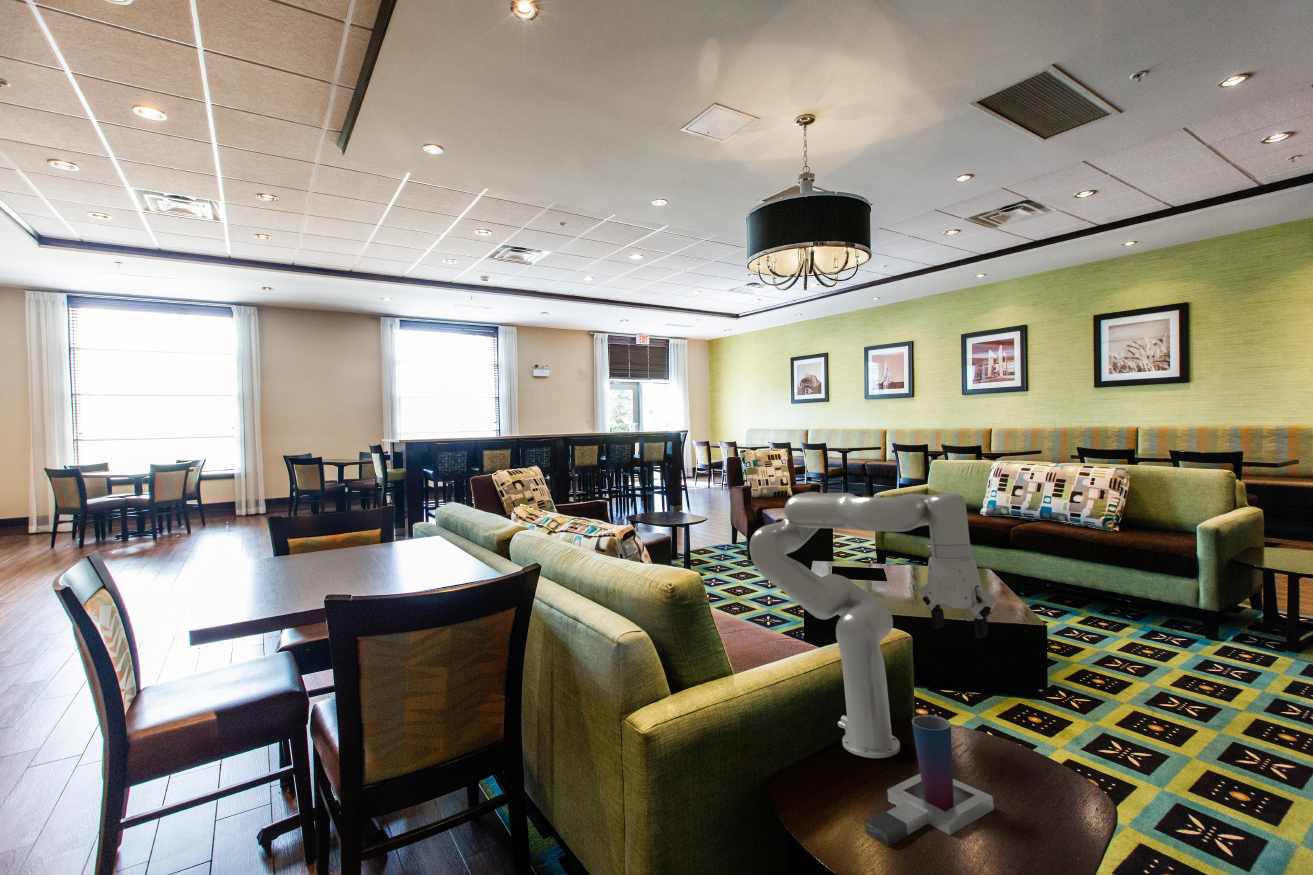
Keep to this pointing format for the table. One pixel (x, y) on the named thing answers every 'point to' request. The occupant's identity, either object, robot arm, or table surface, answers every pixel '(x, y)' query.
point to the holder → (926, 811)
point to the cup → (935, 759)
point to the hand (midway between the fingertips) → (959, 632)
